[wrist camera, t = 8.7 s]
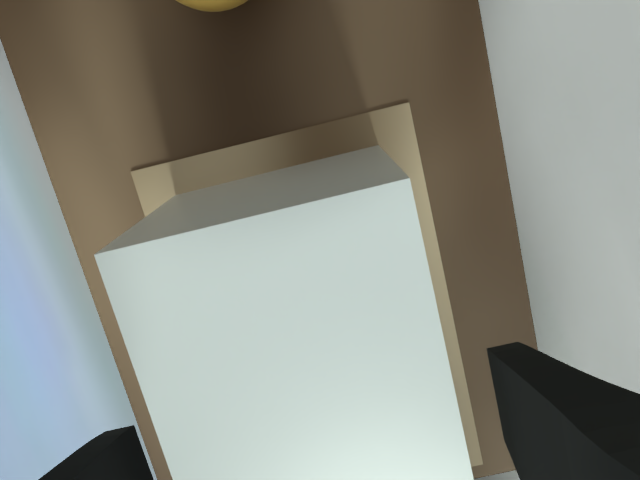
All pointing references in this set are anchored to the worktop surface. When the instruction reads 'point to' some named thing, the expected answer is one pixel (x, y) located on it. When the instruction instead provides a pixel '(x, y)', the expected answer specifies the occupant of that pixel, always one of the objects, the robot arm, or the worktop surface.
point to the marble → (212, 4)
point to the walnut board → (283, 141)
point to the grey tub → (290, 328)
